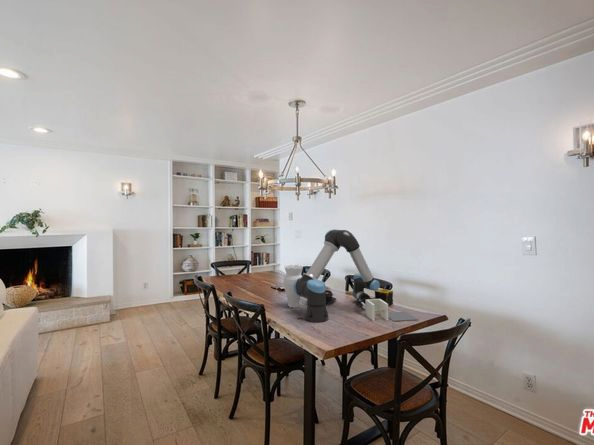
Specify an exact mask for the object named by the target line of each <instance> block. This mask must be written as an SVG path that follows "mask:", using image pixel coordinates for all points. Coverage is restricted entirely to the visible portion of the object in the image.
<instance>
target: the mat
mask: <svg viewBox="0 0 594 445" xmlns="http://www.w3.org/2000/svg"><path fill="white" fill-rule="evenodd" d="M388 320H391V321H392V322H393V323H394V322H410V321H411V322H413V321H419V319H418V318H417V317H415V316H413V315H411V314H410V313H408V312H407V311H388Z"/></svg>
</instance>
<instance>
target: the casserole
mask: <svg viewBox="0 0 594 445" xmlns="http://www.w3.org/2000/svg"><path fill="white" fill-rule="evenodd" d="M336 300H337V297H334V294H333V292H332V291H331V290H330V289H326V305H329V304H332V303H334V302H335V301H336Z"/></svg>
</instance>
